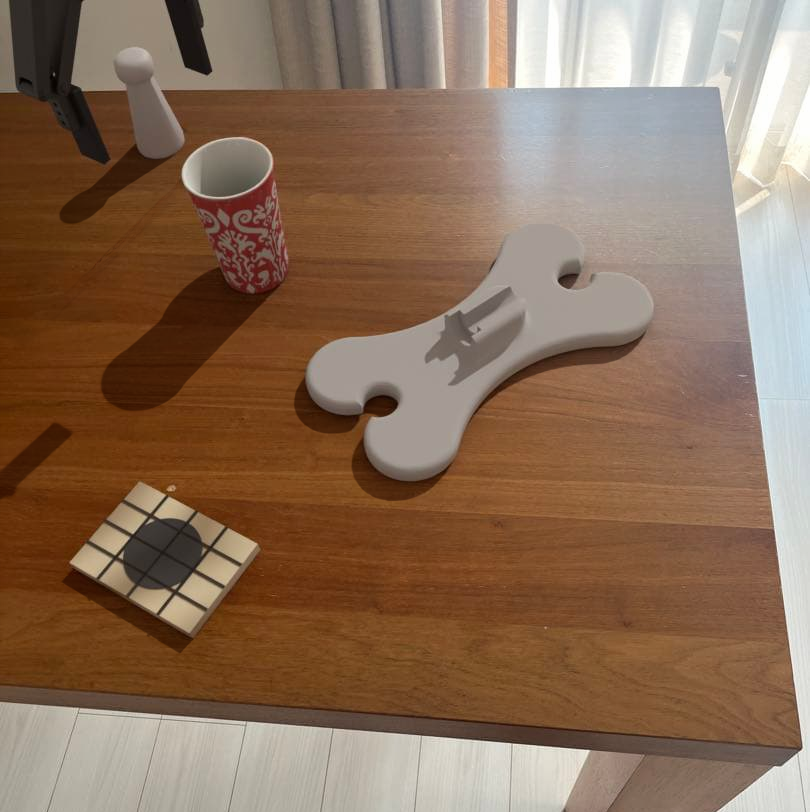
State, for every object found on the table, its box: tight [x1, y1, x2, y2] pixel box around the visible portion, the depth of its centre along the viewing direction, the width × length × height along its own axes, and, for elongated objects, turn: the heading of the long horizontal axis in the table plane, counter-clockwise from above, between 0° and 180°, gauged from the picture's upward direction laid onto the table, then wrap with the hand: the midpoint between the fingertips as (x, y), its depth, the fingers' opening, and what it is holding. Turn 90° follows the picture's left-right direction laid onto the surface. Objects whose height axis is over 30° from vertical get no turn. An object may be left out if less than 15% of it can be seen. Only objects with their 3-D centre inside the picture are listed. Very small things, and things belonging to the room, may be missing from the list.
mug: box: [180, 136, 290, 295], centre depth 93 cm, size 13×9×14 cm
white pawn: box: [112, 46, 186, 160], centre depth 103 cm, size 6×6×13 cm
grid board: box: [68, 481, 261, 639], centre depth 80 cm, size 14×10×1 cm
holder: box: [304, 221, 655, 482], centre depth 87 cm, size 19×34×5 cm, turn 127°
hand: (149, 112), depth 78 cm, fingers open, 13 cm apart
